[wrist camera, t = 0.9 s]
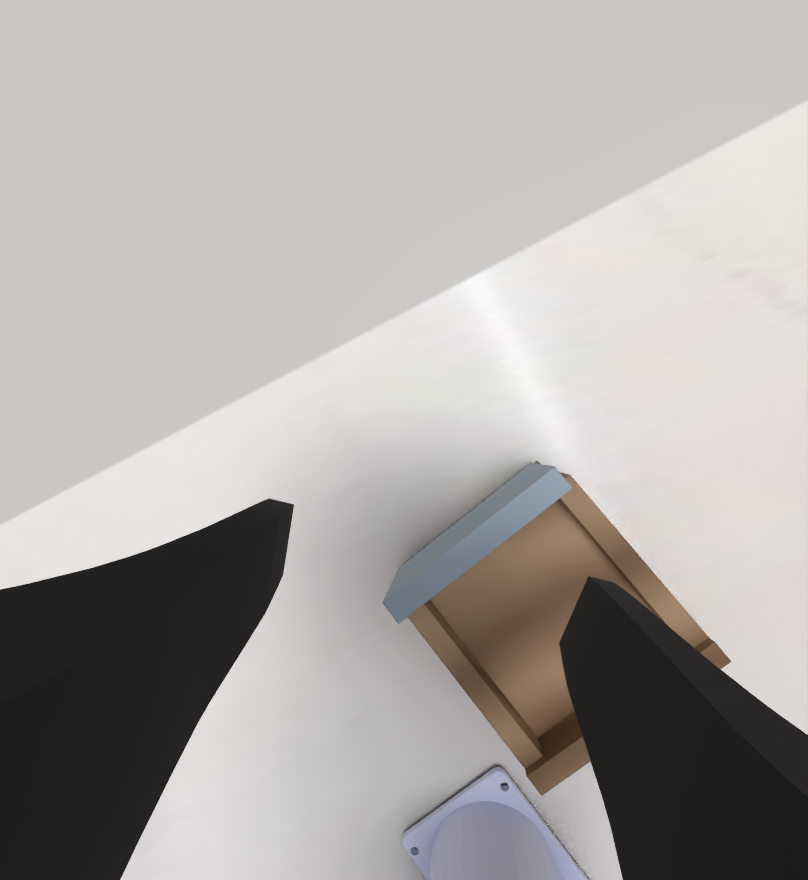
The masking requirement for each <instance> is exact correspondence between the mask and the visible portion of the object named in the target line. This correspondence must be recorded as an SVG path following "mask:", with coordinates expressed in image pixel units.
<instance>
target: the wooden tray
mask: <svg viewBox="0 0 808 880" xmlns="http://www.w3.org/2000/svg"><path fill="white" fill-rule="evenodd" d="M560 474H561V475H562V476H563V477H564V478H565V480H566V481H567V482H568V483H569V484H570V486H571V487H572V489H571V490H570V491H568V492H567V493H566V494H564V495H563V496H562V497H561V498H559V499H558V500H557V501H556V502H554V503H553V504H552V505H550V506H549V507H548V508H547V509H545V510H544V511H543V512H541V513H540V514H539V515H538V516H536V517H535V518H534V519H532V520H531V521H530V522H529V523H527V524H526V525H525V526H523V527H522V528H521V529H520V530H518V531H517V532H516V533H514V534H513V535H512V536H511V537H509V538H508V539H507V540H505V541H504V542H503V543H502V544H500V545H499V546H498V547H496V548H495V549H494V550H493V551H491V552H490V553H489V554H487V555H486V556H485V557H484V558H482V559H481V560H480V561H478V562H477V563H476V564H475V565H473V566H472V567H471V568H469V569H468V570H467V571H466V572H464V573H463V574H462V575H460V576H459V577H458V578H457V579H455V580H454V581H453V582H451V583H450V584H449V585H448V586H446V587H445V588H444V589H442V590H441V591H440V592H439V593H437V594H436V595H435V596H434V597H432V598H431V599H430V600H428V601H427V602H426V603H425V604H423V605H422V606H421V607H419V608H418V609H417V610H416V611H414V612H413V613H412V614H410V615H409V616H408V618H409V619H410V620H411V622H412V623H413V624H414V626H415V627H416V628H417V629H418V631H419V632H420V633H421V635H422V636H423V637H424V638H425V640H426V641H427V642H428V644H429V645H430V646H431V648H432V649H433V650H434V651H435V653H436V654H437V655H438V657H439V658H440V659H441V661H442V662H443V663H444V664H445V666H446V667H447V668H448V670H449V671H450V672H451V673H452V675H453V676H454V677H455V679H456V680H457V681H458V683H459V684H460V685H461V686H462V688H463V689H464V690H465V692H466V693H467V694H468V696H469V697H470V698H471V699H472V701H473V702H474V703H475V705H476V706H477V707H478V708H479V710H480V711H481V712H482V714H483V715H484V716H485V718H486V719H487V720H488V721H489V723H490V724H491V725H492V727H493V728H494V729H495V731H496V732H497V733H498V734H499V736H500V737H501V738H502V740H503V741H504V742H505V744H506V745H507V746H508V747H509V749H510V750H511V751H512V753H513V754H514V755H515V756H516V758H517V759H518V760H519V762H520V763H521V764H522V766H523V767H524V768H525V770H526V775H527V777H528V778H529V780H530V781H531V782H532V784H533V785H534V786H535V788H536V789H537V790H538V791H539V793H540V794H541V795H543V794H545V793H546V792H548V791H549V790H550V789H552V788H553V787H555V786H556V785H558V784H559V783H560V782H562V781H563V780H565V779H566V778H567V777H569V776H570V775H572V774H573V773H575V772H576V771H577V770H579V769H580V768H582V767H583V766H584V765H586V764H587V763H589V762H590V761H591V760H590V757H589V754H588V751H587V748H586V745H585V742H584V739H583V736H582V733H581V730H580V726H579V723H578V720H577V717H576V714H575V711H574V707H573V704H572V701H571V698H570V695H569V691H568V688H567V684H566V679H565V674H564V669H563V663H562V657H561V651H560V645H559V642H560V640H561V637H562V635H563V633H564V631H565V628H566V626H567V624H568V621H569V619H570V617H571V615H572V612H573V610H574V608H575V606H576V603H577V601H578V599H579V596H580V594H581V592H582V590H583V587H584V585H585V583H586V581H587V578H588V576H590V577H594V578H598V579H602V580H607V581H611V582H614V583H616V584H617V585H618V586H620V587H621V588H623V589H624V590H625V591H627V592H628V593H629V594H631V595H632V596H633V597H634V598H636V599H637V600H638V601H639V602H640V603H642V604H643V605H644V606H645V607H647V608H648V609H649V610H650V611H651V612H652V613H654V614H655V615H656V616H657V617H658V618H659V619H661V620H662V621H663V622H664V623H665V624H667V625H668V626H669V627H670V628H671V629H672V630H674V631H675V632H676V633H677V634H678V635H679V636H681V637H682V638H683V639H684V640H685V641H687V642H688V643H689V644H690V645H691V646H692V647H694V648H695V649H696V650H697V651H698V652H700V653H701V654H702V655H703V656H704V657H706V658H707V659H708V660H709V661H711V662H712V663H713V664H714V665H715V666H717V667H718V668H719V669H722V668H723V667H724V666H726V665H727V664H729V663H730V662H731V660H730V659H729V658H728V657H727V656H726V655H725V653H724V652H723V651H722V650H721V649H720V648H719V646H718V645H717V644H716V643H715V642H714V641H713V640H711V639H710V638H709V637H708V636H707V635H706V634H705V632H704V631H703V630H702V629H701V628H700V627H699V625H698V624H697V623H696V622H695V621H694V620H693V618H692V617H691V616H690V615H689V614H688V613H687V611H686V610H685V609H684V608H683V607H682V605H681V604H680V603H679V602H678V601H677V600H676V598H675V597H674V596H673V595H672V594H671V593H670V591H669V590H668V589H667V588H666V587H665V586H664V584H663V583H662V582H661V581H660V580H659V579H658V577H657V576H656V575H655V574H654V573H653V571H652V570H651V569H650V568H649V567H648V566H647V564H646V563H645V562H644V561H643V560H642V559H641V557H640V556H639V555H638V554H637V553H636V552H635V550H634V549H633V548H632V547H631V546H630V545H629V543H628V542H627V541H626V540H625V539H624V537H623V536H622V535H621V534H620V533H619V532H618V530H617V529H616V528H615V527H614V526H613V525H612V523H611V522H610V521H609V520H608V519H607V518H606V516H605V515H604V514H603V513H602V512H601V511H600V509H599V508H598V507H597V506H596V505H595V504H594V502H593V501H592V500H591V499H590V498H589V496H588V495H587V494H586V493H585V492H584V491H583V489H582V488H581V487H580V486H579V485H578V484H577V482H576V481H575V480H574V479H573V478H572V477H571V475H568V474H564V473H560Z"/></svg>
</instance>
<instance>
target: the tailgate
mask: <svg viewBox="0 0 808 880" xmlns="http://www.w3.org/2000/svg"><path fill="white" fill-rule="evenodd" d="M571 489H572V487H571V486H570V484H569V483H568V482H567V481H566V480H565V478H564V477H563V476H562V475H561V474H560V473H559V471H558V470H557V469H556V468H555V467H552V466H547V465H541V464H540V463H539V462H538V461H536V462H534V463H530V464H529V465H528V466H527V467H525V468H524V469H523V470H522V471H520V472H519V473H518V474H517V475H515V476H514V477H513V478H512V479H510V480H509V481H508V482H506V483H505V484H504V485H503V486H501V487H500V488H499V489H498V490H496V491H495V492H494V493H493V494H491V495H490V496H489V497H488V498H486V499H485V500H484V501H483V502H481V503H480V504H479V505H477V506H476V507H475V508H474V509H472V510H471V511H470V512H469V513H467V514H466V515H465V516H464V517H462V518H461V519H460V520H459V521H457V522H456V523H455V524H454V525H452V526H451V527H450V528H448V529H447V530H446V531H445V532H443V533H442V534H441V535H440V536H438V537H437V538H436V539H435V540H433V541H432V542H431V543H430V544H428V545H427V546H426V547H425V548H423V549H422V550H421V551H420V552H418V553H417V554H416V555H414V556H413V557H412V558H411V559H409V560H408V561H407V562H406V563H404V564H403V565H402V566H401V567H400V568H399V570H398V571H397V574H396V576H395V578H394V580H393V582H392V584H391V586H390V588H389V590H388V592H387V594H386V596H385V598H384V600H383V602H382V603H383V604H384V605H385V607H386V608H387V609H388V611H389V612H390V613H391V615H392V616H393V617H394V618H395V620H396V621H397V622H398V624H399V623H400V622H401V621H403V620H404V619H405V618H407V617H408V616H409V615H410V614H412V613H413V612H414V611H416V610H417V609H418V608H419V607H421V606H422V605H423V604H425V603H426V602H427V601H428V600H430V599H431V598H432V597H434V596H435V595H436V594H437V593H439V592H440V591H441V590H442V589H444V588H445V587H446V586H448V585H449V584H450V583H451V582H453V581H454V580H455V579H457V578H458V577H459V576H460V575H462V574H463V573H464V572H466V571H467V570H468V569H469V568H471V567H472V566H473V565H475V564H476V563H477V562H478V561H480V560H481V559H482V558H484V557H485V556H486V555H487V554H489V553H490V552H491V551H493V550H494V549H495V548H496V547H498V546H499V545H500V544H502V543H503V542H504V541H505V540H507V539H508V538H509V537H511V536H512V535H513V534H514V533H516V532H517V531H518V530H520V529H521V528H522V527H523V526H525V525H526V524H527V523H529V522H530V521H531V520H532V519H534V518H535V517H536V516H538V515H539V514H540V513H541V512H543V511H544V510H545V509H547V508H548V507H549V506H550V505H552V504H553V503H554V502H556V501H557V500H558V499H559V498H561V497H562V496H563V495H564V494H566V493H567V492H568V491H570V490H571Z"/></svg>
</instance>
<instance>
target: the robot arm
mask: <svg viewBox="0 0 808 880" xmlns="http://www.w3.org/2000/svg"><path fill="white" fill-rule="evenodd" d="M293 507H294V505H293V504H289V503H285V502H281V501H277V500H273V499H267V500H265V501H262V502H260V503H258V504H255V505H253V506H251V507H249V508H247V509H245V510H243V511H240V512H238V513H236V514H234V515H232V516H230V517H228V518H225V519H223V520H221V521H219V522H217V523H214V524H212V525H210V526H208V527H206V528H203V529H201V530H199V531H196V532H194V533H191V534H189V535H186V536H184V537H181V538H179V539H176V540H174V541H171V542H169V543H166V544H164V545H161V546H159V547H156V548H153V549H150V550H148V551H145V552H142V553H139V554H136V555H133V556H130V557H127V558H124V559H120V560H117V561H114V562H111V563H107V564H104V565H101V566H97V567H94V568H90V569H86V570H82V571H78V572H74V573H70V574H66V575H62V576H58V577H54V578H50V579H46V580H42V581H38V582H34V583H30V584H25V585H21V586H16V587H11V588H6V589H1V590H0V880H120V879H121V877H122V875H123V872H124V870H125V868H126V866H127V864H128V862H129V860H130V858H131V856H132V854H133V851H134V849H135V847H136V845H137V843H138V841H139V839H140V837H141V835H142V833H143V831H144V829H145V827H146V825H147V823H148V821H149V819H150V817H151V815H152V813H153V811H154V809H155V806H156V804H157V802H158V800H159V798H160V796H161V794H162V792H163V790H164V788H165V786H166V784H167V782H168V780H169V778H170V776H171V774H172V772H173V770H174V768H175V766H176V764H177V762H178V760H179V759H180V757H181V755H182V753H183V751H184V749H185V747H186V745H187V743H188V741H189V739H190V737H191V735H192V733H193V731H194V729H195V727H196V725H197V723H198V722H199V720H200V718H201V716H202V715H203V713H204V711H205V709H206V708H207V706H208V704H209V702H210V701H211V699H212V697H213V696H214V694H215V693H216V691H217V690H218V688H219V686H220V685H221V683H222V682H223V680H224V678H225V677H226V675H227V674H228V672H229V670H230V669H231V667H232V666H233V664H234V662H235V661H236V659H237V658H238V656H239V654H240V653H241V651H242V650H243V648H244V647H245V645H246V643H247V642H248V640H249V639H250V637H251V635H252V634H253V632H254V630H255V629H256V627H257V626H258V624H259V622H260V621H261V619H262V617H263V616H264V614H265V612H266V610H267V608H268V606H269V604H270V602H271V600H272V598H273V596H274V594H275V591H276V589H277V587H278V585H279V583H280V580H281V578H282V576H283V571H284V565H285V558H286V552H287V546H288V539H289V533H290V526H291V520H292V513H293ZM559 645H560V651H561V657H562V663H563V669H564V674H565V679H566V684H567V688H568V691H569V695H570V698H571V701H572V704H573V707H574V711H575V714H576V717H577V720H578V723H579V726H580V730H581V733H582V736H583V739H584V742H585V745H586V748H587V751H588V754H589V757H590V760H591V763H592V767H593V770H594V773H595V776H596V779H597V782H598V785H599V788H600V791H601V794H602V797H603V801H604V804H605V808H606V811H607V815H608V818H609V822H610V826H611V830H612V834H613V838H614V843H615V847H616V851H617V856H618V860H619V864H620V869H621V873H622V877H623V880H808V735H807V734H805V733H804V732H802V731H801V730H800V729H798V728H797V727H795V726H794V725H793V724H791V723H790V722H788V721H787V720H786V719H784V718H783V717H781V716H780V715H779V714H777V713H776V712H775V711H773V710H772V709H771V708H769V707H768V706H767V705H765V704H764V703H763V702H761V701H760V700H759V699H757V698H756V697H755V696H753V695H752V694H751V693H750V692H748V691H747V690H746V689H744V688H743V687H742V686H741V685H739V684H738V683H737V682H736V681H734V680H733V679H732V678H730V677H729V676H728V675H727V674H725V673H724V672H723V671H722V670H720V669H719V668H718V667H717V666H715V665H714V664H713V663H712V662H711V661H709V660H708V659H707V658H706V657H704V656H703V655H702V654H701V653H700V652H698V651H697V650H696V649H695V648H694V647H692V646H691V645H690V644H689V643H688V642H687V641H685V640H684V639H683V638H682V637H681V636H679V635H678V634H677V633H676V632H675V631H674V630H672V629H671V628H670V627H669V626H668V625H667V624H665V623H664V622H663V621H662V620H661V619H659V618H658V617H657V616H656V615H655V614H654V613H652V612H651V611H650V610H649V609H648V608H647V607H645V606H644V605H643V604H642V603H640V602H639V601H638V600H637V599H636V598H634V597H633V596H632V595H631V594H629V593H628V592H627V591H625V590H624V589H623V588H621V587H620V586H618V585H617V584H616V583H614V582H611V581H607V580H602V579H598V578H594V577H590V576H588V578H587V581H586V583H585V585H584V587H583V590H582V592H581V594H580V596H579V599H578V601H577V603H576V606H575V608H574V610H573V612H572V615H571V617H570V619H569V621H568V624H567V626H566V628H565V631H564V633H563V635H562V637H561V640H560V642H559ZM503 782H505V783H507V786H502V785H501V783H503ZM402 846H403V848H404V849H405V851H406V852H407V854H408V855H409V856H410V858H411V859H412V861H413V862H414V863H415V865H416V866H417V867H418V869H419V870H420V872H421V873H422V874H423V876H424V877H425V879H426V880H588V878H587V877H586V876H585V874H584V873H583V872H582V870H581V869H580V868H579V867H578V865H577V864H576V863H575V861H574V860H573V859H572V857H571V856H570V855H569V854H568V852H567V851H566V850H565V848H564V847H563V846H562V844H561V843H560V842H559V840H558V839H557V838H556V837H555V835H554V834H553V833H552V831H551V830H550V829H549V827H548V826H547V825H546V823H545V822H544V821H543V820H542V818H541V817H540V816H539V814H538V813H537V812H536V810H535V809H534V808H533V806H532V805H531V804H530V803H529V801H528V800H527V799H526V797H525V796H524V795H523V793H522V792H521V791H520V789H519V788H518V787H517V786H516V784H515V783H514V782H513V780H512V779H511V778H510V776H509V775H508V774H507V773H506V771H505V770H504V769H503V768H500V767H495V768H493V769H492V770H490V771H489V772H488V773H486V774H485V775H483V776H482V777H481V778H479V779H478V780H476V781H475V782H474V783H472V784H471V785H470V786H468V787H467V788H465V789H464V790H463V791H461V792H460V793H458V794H457V795H456V796H454V797H453V798H452V799H450V800H449V801H447V802H446V803H445V804H443V805H442V806H440V807H439V808H438V809H436V810H435V811H434V812H432V813H431V814H429V815H428V816H427V817H425V818H424V819H423V820H421V821H420V822H418V823H417V824H416V825H414V826H413V827H411V828H410V829H409V830H407V831H406V832H405V833H404V834H403V836H402ZM412 847H417V848H418V849H416V850H415V849H413V848H412Z"/></svg>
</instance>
